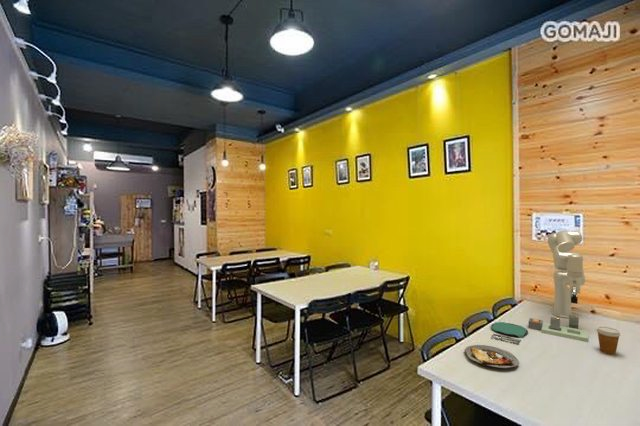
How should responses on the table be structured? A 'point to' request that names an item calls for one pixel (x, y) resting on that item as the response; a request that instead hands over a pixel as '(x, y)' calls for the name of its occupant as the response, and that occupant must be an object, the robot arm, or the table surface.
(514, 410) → the table surface
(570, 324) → the knobbed taupe block
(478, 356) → the food plate
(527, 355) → the table surface
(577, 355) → the table surface
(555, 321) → the seated billet
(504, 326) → the green-topped navy dish
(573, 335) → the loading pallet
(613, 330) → the disposable coffee cup
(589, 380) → the table surface
